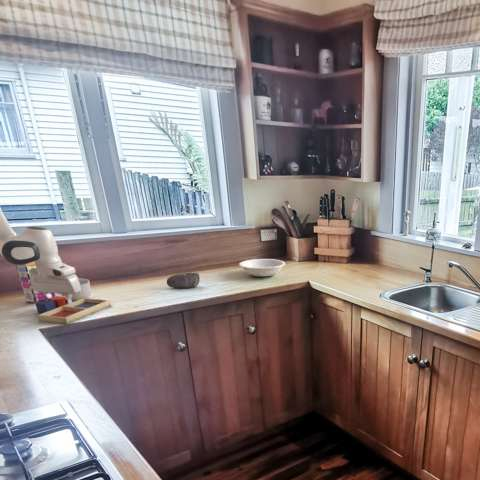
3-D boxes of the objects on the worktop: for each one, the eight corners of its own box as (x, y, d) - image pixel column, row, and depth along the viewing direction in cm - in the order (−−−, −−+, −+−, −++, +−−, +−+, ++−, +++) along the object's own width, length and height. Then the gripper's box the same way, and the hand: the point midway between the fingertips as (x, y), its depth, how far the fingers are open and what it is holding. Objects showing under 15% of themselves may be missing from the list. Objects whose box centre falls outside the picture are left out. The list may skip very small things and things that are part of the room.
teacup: (95, 294, 209) (91, 277, 206) (90, 301, 200) (86, 283, 196) (60, 296, 205) (55, 278, 202) (53, 303, 196) (48, 285, 192)
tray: (38, 321, 176) (37, 315, 175) (85, 303, 197) (84, 298, 196) (66, 324, 174) (65, 317, 173) (111, 306, 195) (109, 300, 194)
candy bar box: (36, 303, 196) (25, 264, 188) (25, 302, 196) (14, 263, 189) (56, 296, 206) (46, 258, 199) (46, 295, 206) (35, 258, 199)
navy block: (38, 314, 183) (34, 303, 181) (47, 310, 187) (44, 300, 185) (48, 315, 183) (45, 304, 181) (57, 311, 187) (54, 300, 185)
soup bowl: (270, 268, 265) (270, 257, 263) (294, 276, 250) (293, 264, 247) (232, 274, 251) (230, 262, 248) (254, 283, 235) (253, 270, 232)
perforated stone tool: (167, 290, 219) (164, 275, 216) (168, 287, 224) (165, 272, 221) (200, 288, 224) (198, 274, 221) (200, 285, 228) (198, 271, 225)
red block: (50, 309, 189) (47, 299, 187) (59, 306, 193) (56, 296, 191) (60, 310, 188) (57, 299, 186) (68, 307, 192) (65, 296, 190)
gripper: (21, 269, 182) (32, 303, 188) (66, 272, 179) (76, 306, 185) (34, 265, 188) (45, 299, 194) (78, 268, 184) (88, 302, 190)
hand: (60, 302), depth 189 cm, fingers open, 6 cm apart
